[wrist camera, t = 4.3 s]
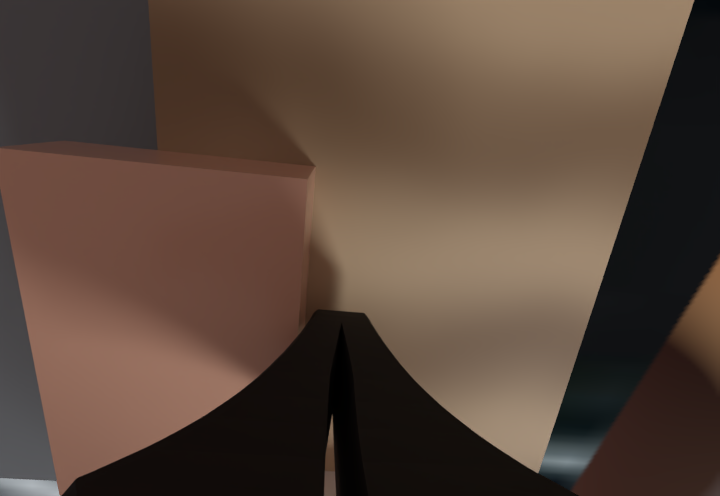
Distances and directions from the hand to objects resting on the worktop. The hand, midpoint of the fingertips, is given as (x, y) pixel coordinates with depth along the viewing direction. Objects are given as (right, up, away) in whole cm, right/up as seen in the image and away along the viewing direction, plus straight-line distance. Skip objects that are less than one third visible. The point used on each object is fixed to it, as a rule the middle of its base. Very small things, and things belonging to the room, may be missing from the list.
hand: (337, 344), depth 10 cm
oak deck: (+1, +1, +5) cm, 5 cm away
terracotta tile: (-4, +1, +1) cm, 4 cm away
